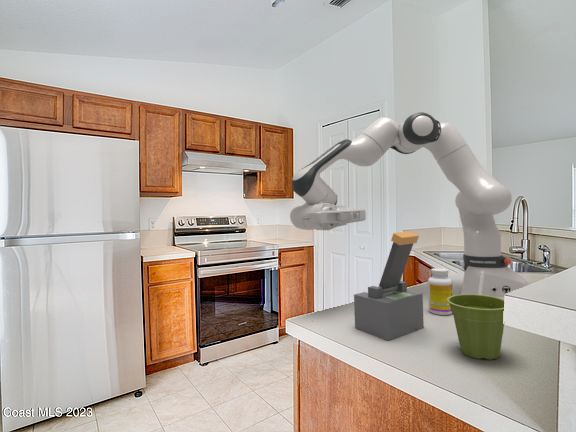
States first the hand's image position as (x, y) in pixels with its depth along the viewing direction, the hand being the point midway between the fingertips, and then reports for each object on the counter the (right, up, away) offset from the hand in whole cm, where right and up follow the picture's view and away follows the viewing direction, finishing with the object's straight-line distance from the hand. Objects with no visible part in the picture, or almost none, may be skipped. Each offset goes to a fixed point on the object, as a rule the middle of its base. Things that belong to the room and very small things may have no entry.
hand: (355, 215), depth 95 cm
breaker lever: (+7, -19, -9) cm, 22 cm away
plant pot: (+21, -30, -25) cm, 44 cm away
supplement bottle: (+26, -29, +2) cm, 39 cm away
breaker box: (+7, -30, -9) cm, 32 cm away
